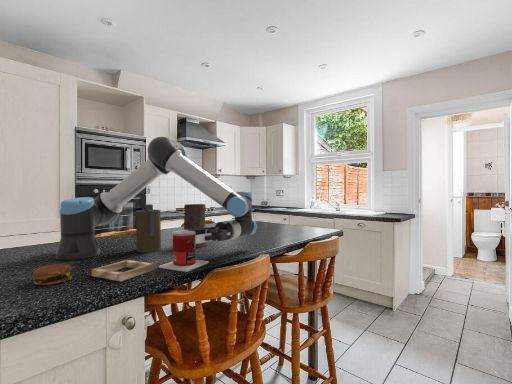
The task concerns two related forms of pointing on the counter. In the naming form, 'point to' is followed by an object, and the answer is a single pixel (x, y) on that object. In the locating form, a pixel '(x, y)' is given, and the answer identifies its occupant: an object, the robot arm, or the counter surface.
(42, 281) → the burger
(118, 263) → the oak holder frame
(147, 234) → the canister
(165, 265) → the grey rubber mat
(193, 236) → the canned food
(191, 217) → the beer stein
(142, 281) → the counter surface
